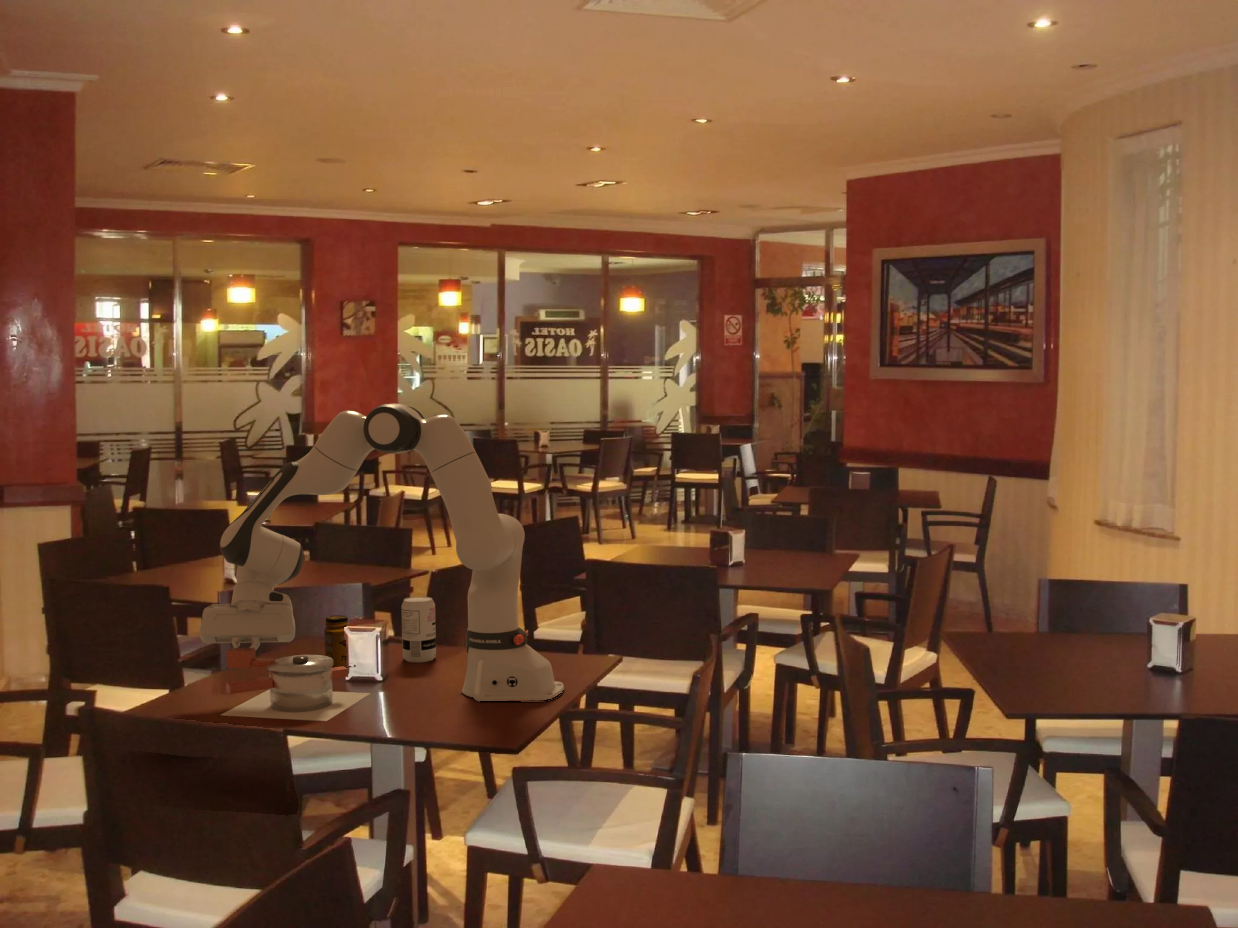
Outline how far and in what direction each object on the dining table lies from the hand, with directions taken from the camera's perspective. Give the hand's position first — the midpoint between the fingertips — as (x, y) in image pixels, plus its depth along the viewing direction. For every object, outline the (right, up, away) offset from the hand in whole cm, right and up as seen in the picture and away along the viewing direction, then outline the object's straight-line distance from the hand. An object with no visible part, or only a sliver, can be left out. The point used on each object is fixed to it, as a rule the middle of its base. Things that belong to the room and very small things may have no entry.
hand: (243, 657), depth 276 cm
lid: (+9, -2, -3) cm, 9 cm away
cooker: (+11, -10, -4) cm, 15 cm away
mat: (+12, -10, -2) cm, 16 cm away
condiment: (+12, -7, +34) cm, 36 cm away
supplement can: (+32, -7, +39) cm, 51 cm away
